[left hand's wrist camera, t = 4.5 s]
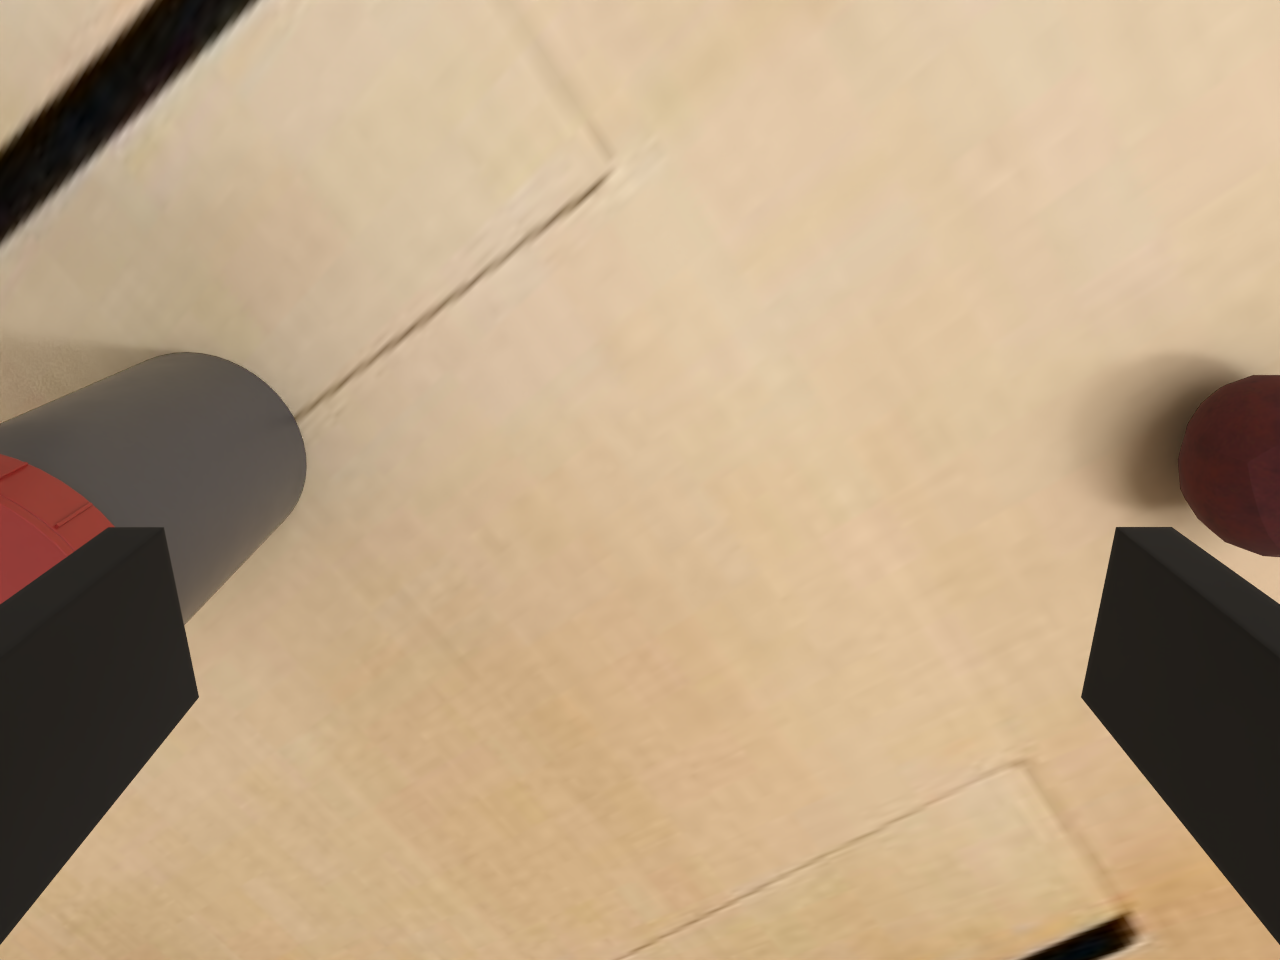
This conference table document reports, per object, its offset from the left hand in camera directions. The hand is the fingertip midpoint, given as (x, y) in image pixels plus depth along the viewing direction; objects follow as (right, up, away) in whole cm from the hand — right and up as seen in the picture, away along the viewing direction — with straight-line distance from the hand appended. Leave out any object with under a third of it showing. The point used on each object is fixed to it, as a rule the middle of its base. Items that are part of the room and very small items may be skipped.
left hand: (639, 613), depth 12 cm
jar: (-20, +3, +29) cm, 35 cm away
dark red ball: (+27, +4, +28) cm, 39 cm away
